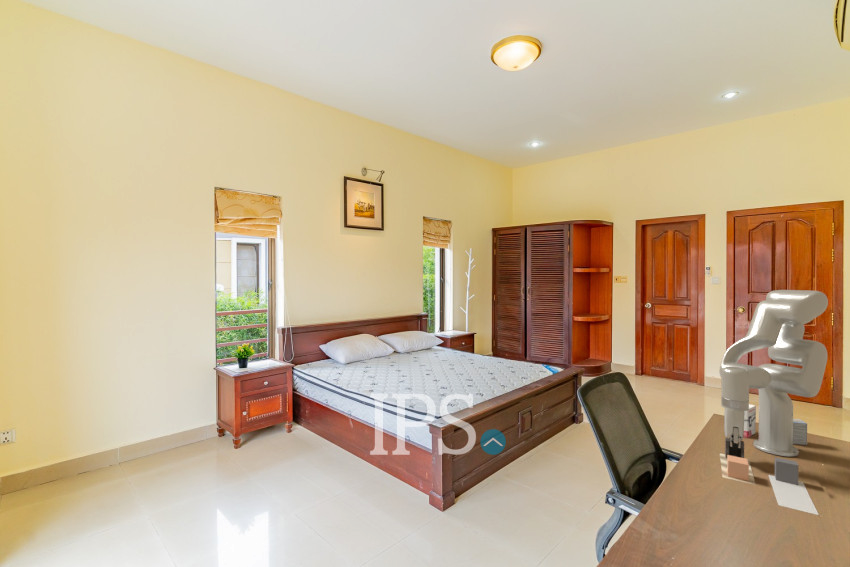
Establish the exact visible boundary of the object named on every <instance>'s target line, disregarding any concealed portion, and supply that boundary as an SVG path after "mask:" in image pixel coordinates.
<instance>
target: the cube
mask: <svg viewBox="0 0 850 567" xmlns="http://www.w3.org/2000/svg"><path fill="white" fill-rule="evenodd" d="M747 459H748V458H745V457H744V458H740V457H735V456H731V455H727V472H728V477H733V478H737V479H741V480H746V481H749V464H748V460H747Z"/></svg>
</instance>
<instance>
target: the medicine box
mask: <svg viewBox="0 0 850 567" xmlns="http://www.w3.org/2000/svg"><path fill="white" fill-rule="evenodd" d="M793 445H799V446H800V445H801V446H807V445H808V423H807V422H805V421H804V420H802V419H800V418H793Z"/></svg>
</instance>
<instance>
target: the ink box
mask: <svg viewBox="0 0 850 567" xmlns="http://www.w3.org/2000/svg"><path fill="white" fill-rule="evenodd" d="M756 416H757V406H756V405H754V404H750V403H749V410H748V411H744V435H743V438H746V439H748V438H750V437H752V436H754V434H756V431H757V430H756V427H757V426H756V424H757V423H756V420H757V418H756Z"/></svg>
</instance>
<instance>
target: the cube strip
mask: <svg viewBox="0 0 850 567" xmlns="http://www.w3.org/2000/svg"><path fill="white" fill-rule="evenodd" d="M724 440H725V441H724V442H725V445H724V447H725V449H724V453H719V460H720V467H721V476H722V478H724V479H728V480H733V481H737V482H741V483H744V484H745V483H746V484H749V485H753V486H756V481H755V476H754V474H753V470H752V466H751V462H750V459H749V458H746V459H747V460H748V464H749V481H746V480H741V479H737V478H733V477H728V472H727V455H729V445H730V438H729V437H725V439H724ZM732 440H733V439H732ZM740 447H741V458H745V442H744V440H741V439H740Z"/></svg>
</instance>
